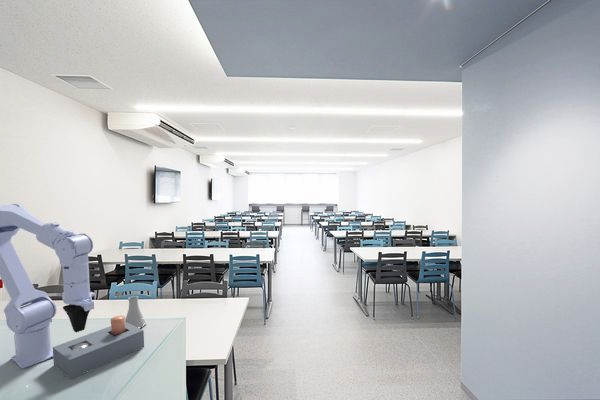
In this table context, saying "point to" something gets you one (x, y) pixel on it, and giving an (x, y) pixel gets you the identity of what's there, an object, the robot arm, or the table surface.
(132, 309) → the flask
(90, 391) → the table surface
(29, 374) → the table surface
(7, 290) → the robot arm
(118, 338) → the plug panel
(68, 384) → the table surface
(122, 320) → the terracotta plug
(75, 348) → the steel plug
